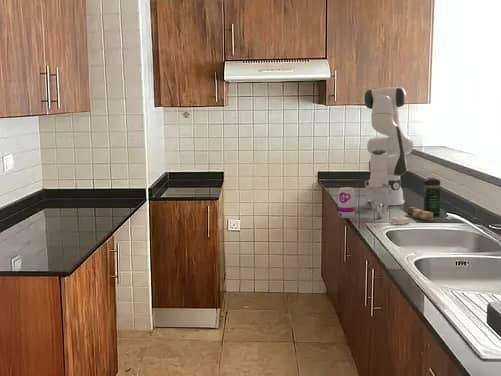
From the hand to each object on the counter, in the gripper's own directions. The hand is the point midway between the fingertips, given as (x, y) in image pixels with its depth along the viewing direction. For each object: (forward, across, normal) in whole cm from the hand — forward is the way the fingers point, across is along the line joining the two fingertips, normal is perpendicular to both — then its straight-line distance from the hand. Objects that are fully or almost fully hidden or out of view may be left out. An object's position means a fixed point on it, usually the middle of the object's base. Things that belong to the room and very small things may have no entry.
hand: (379, 210), depth 289 cm
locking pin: (+4, 0, 0) cm, 4 cm away
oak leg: (+3, -8, -18) cm, 20 cm away
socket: (+4, -16, -1) cm, 16 cm away
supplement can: (+4, +12, +12) cm, 17 cm away
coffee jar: (+4, -2, -30) cm, 31 cm away
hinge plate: (+4, -7, -18) cm, 20 cm away
